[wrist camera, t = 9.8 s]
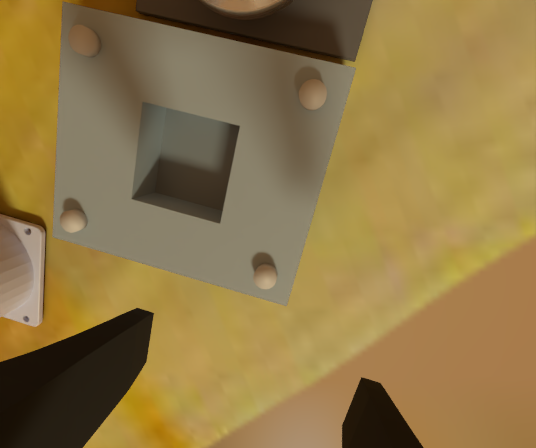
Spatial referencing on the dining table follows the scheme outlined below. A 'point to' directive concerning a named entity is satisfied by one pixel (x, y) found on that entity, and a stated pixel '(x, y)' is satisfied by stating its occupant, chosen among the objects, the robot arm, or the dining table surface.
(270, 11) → the end cap
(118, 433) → the dining table surface
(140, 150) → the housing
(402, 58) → the dining table surface
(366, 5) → the mat
